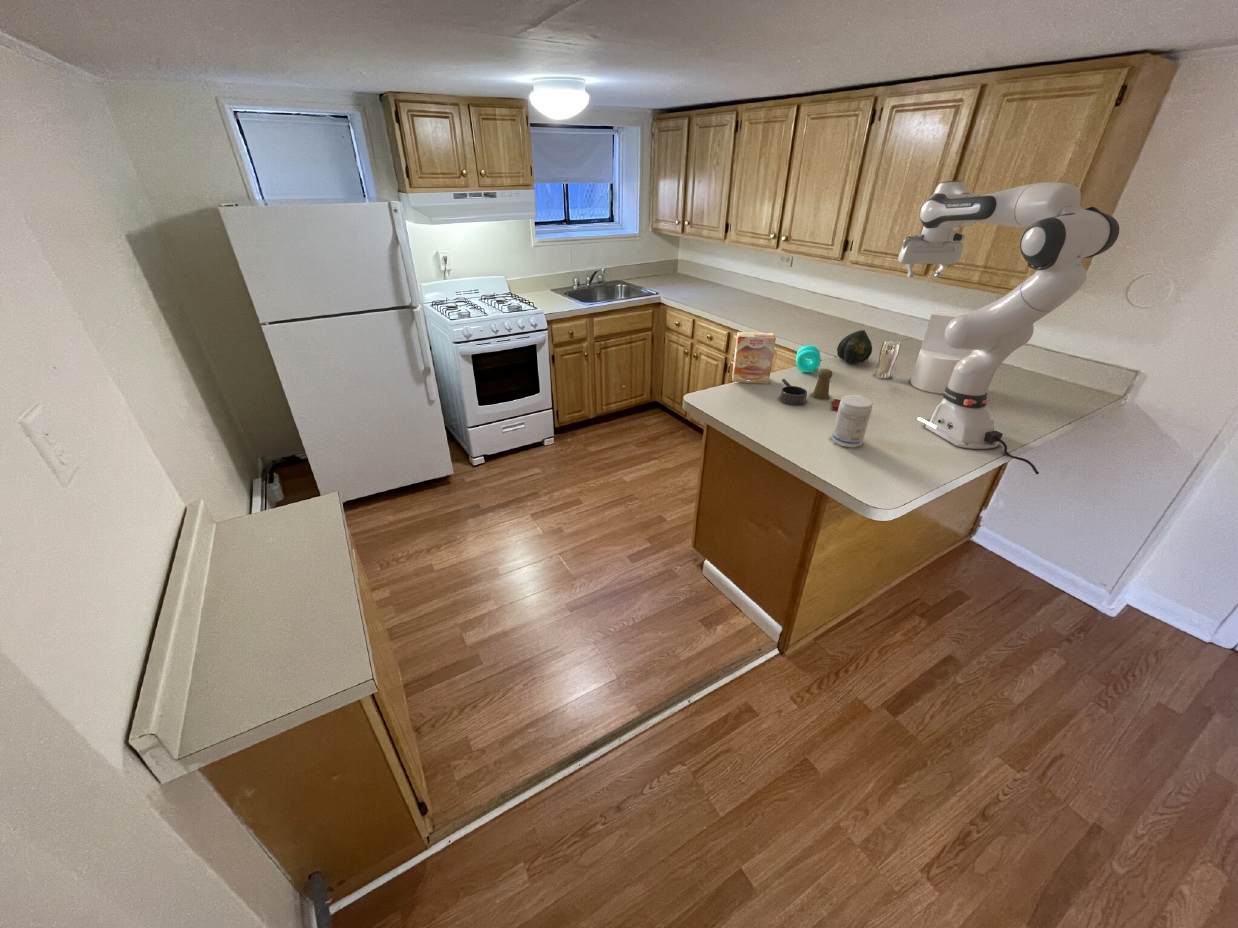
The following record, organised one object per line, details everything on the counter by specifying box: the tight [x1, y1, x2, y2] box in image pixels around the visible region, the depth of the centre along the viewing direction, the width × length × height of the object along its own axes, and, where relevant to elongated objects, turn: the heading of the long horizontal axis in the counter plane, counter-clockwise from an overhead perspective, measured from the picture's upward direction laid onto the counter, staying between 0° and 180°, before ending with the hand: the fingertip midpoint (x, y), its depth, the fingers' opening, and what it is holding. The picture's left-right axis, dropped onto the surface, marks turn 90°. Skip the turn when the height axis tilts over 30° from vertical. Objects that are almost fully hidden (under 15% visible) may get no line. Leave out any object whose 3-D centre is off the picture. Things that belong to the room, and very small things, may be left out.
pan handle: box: [781, 378, 792, 387], centre depth 202 cm, size 8×1×1 cm, turn 3°
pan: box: [779, 385, 808, 406], centre depth 196 cm, size 9×9×4 cm
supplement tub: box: [831, 394, 874, 448], centre depth 164 cm, size 10×10×15 cm
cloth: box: [831, 398, 841, 412], centre depth 190 cm, size 8×7×1 cm
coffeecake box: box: [731, 331, 777, 384], centre depth 210 cm, size 15×7×20 cm, turn 82°
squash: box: [836, 329, 873, 365], centre depth 232 cm, size 14×15×15 cm
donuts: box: [795, 344, 821, 374], centre depth 223 cm, size 10×10×10 cm
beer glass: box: [874, 339, 902, 380], centre depth 214 cm, size 7×7×15 cm
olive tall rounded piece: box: [811, 368, 833, 400], centre depth 197 cm, size 6×6×11 cm
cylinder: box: [910, 311, 973, 395], centre depth 202 cm, size 17×17×28 cm
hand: (923, 276), depth 181 cm, fingers open, 8 cm apart
